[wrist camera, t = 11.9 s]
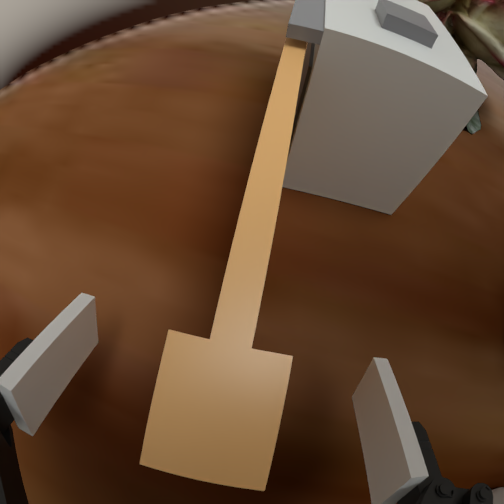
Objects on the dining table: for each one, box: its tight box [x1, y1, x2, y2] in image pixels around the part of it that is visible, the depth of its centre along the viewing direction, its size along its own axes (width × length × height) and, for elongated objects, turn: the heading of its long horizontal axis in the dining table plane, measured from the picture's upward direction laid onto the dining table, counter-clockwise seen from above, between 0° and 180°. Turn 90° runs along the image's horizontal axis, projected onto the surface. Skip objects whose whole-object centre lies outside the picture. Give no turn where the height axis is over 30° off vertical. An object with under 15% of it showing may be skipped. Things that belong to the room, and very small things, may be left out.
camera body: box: [282, 0, 488, 215], centre depth 19 cm, size 15×11×14 cm
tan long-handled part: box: [140, 38, 306, 491], centre depth 14 cm, size 18×3×10 cm, turn 169°
